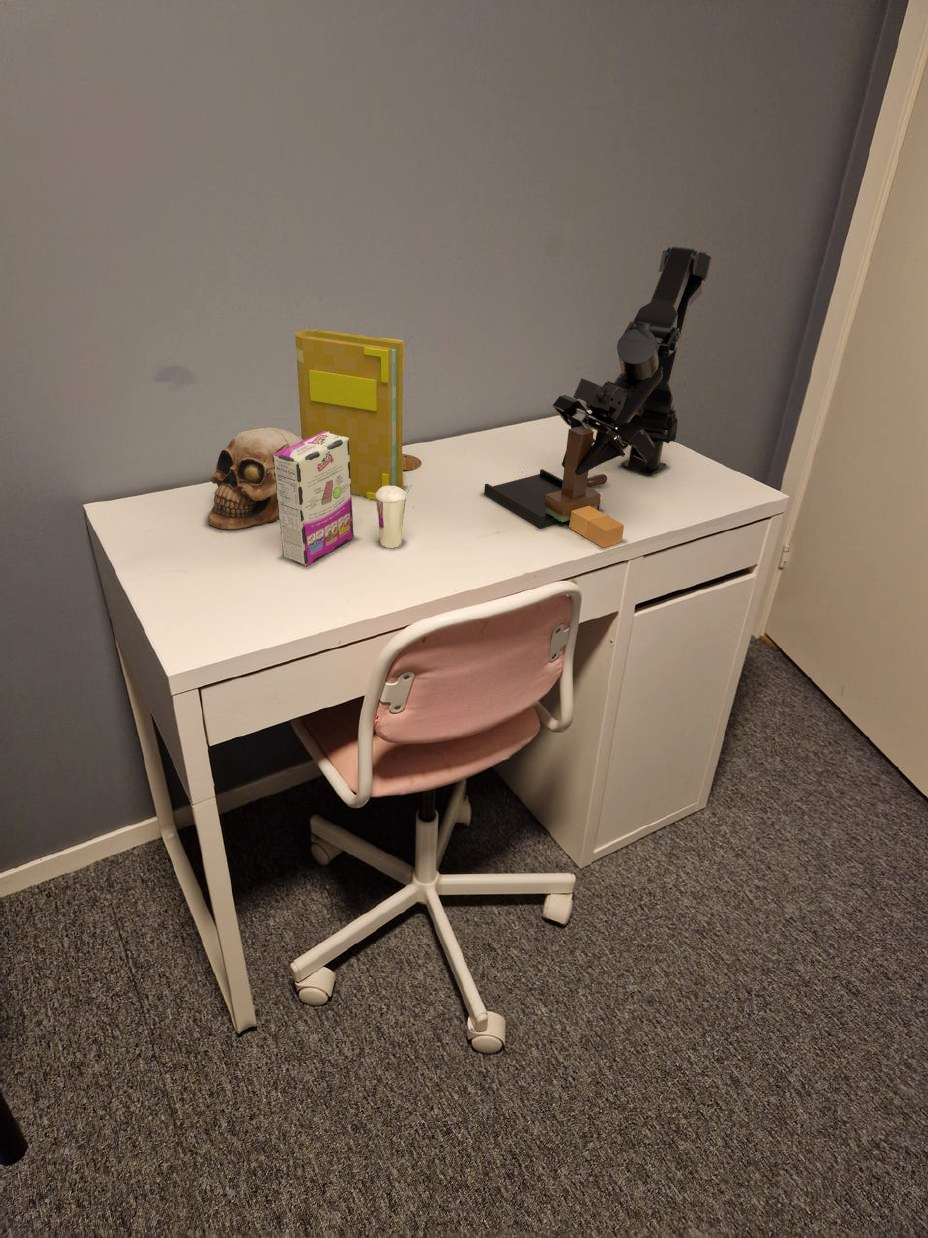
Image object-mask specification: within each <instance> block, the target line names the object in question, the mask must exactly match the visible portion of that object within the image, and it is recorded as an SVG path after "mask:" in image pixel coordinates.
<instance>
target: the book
mask: <svg viewBox="0 0 928 1238" xmlns="http://www.w3.org/2000/svg"><path fill="white" fill-rule="evenodd" d="M295 351H296V368H297V371H296V372H297V385H298V386H297V387H298V400H299V401H298V402H299V416H300V417H299V418H300V433H301V435H300V437H301V438H302V439H303V440H306V439H308V438H310V437H312V436H315V435H317V434H319V433H321V432H323V431H327V432H331V433H334V434H337V435H340V436H344V437H347V438H349V456H350V476H351V495H355V496H360V497H366V499H369V500H374V501H376V496H375V495H376V492H377V491H378V490H379V489H380V488H381V487H383V486H397V487H399V488H401V489H403V488H404V460H403V421H404V419H403V417H404V416H403V414H404V413H403V407H404V405H403V402H404V401H403V399H404V397H403V396H404V393H403V392H404V391H403V390H404V383H403V382H404V372H405V340H402V339H395V338H388V337H374V336H369V335H368V336H367V335H361V334H353V333H347V332H340V331H332V330H325V329H316V328H314V329H313V328H312V329H303V330H298V331H296V332H295Z"/></svg>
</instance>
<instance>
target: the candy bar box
mask: <svg viewBox="0 0 928 1238" xmlns="http://www.w3.org/2000/svg"><path fill="white" fill-rule="evenodd" d="M273 460H274V469H275V479H276V489H277V499H278V508H279V518H278V519H279V528H280V536H281V537H280V538H281V547H282V548H281V549H282V556H283V558H284V559H286V560H289V561H291V562H295V563H297V564H300V565H302V566H305V567H307V566H310V565H311V564H314V563H315V562H316V561H318V560H321V558H323V557H325V556H326V555H328V554H330V553H332V552H333V551H334V550H336V549H338V548H340V547H341V546H343V545H345V544H346V543H348V542H349V541H351V540H352V539H354V537H355V536H354V521H353V520H354V518H353V501H352V494H351V476H350V456H349V438H347V437H344V436H340V435H337V434H334V433H331V432H327V431H323V432H321V433H319V434H317V435H315V436H312V437H310V438H308V439H306V440H303V441H301V442H299V443H297V444H295V445H292V446H290V447H288V448H286V449H284V450H281V451H279V452H277V453H275V454H273Z"/></svg>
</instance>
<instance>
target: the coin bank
mask: <svg viewBox="0 0 928 1238" xmlns="http://www.w3.org/2000/svg"><path fill="white" fill-rule="evenodd" d="M301 441H303V439H302V436H299V435H298V434H296V433H293V432H292V431H289V430H286V429H283V428H278V427H259V428H254V429H249V430H244V431H240V432H238V433H236V434H235V435H234V436H233V437H232V439H231V440H230V442H229V444H228V445H227V446H226V447H225V448H222V450H221V451H220V452H219V455H218V458H217V462H216V465H215V472H214V473H213V475H212V476H211V477H210V481H211V483H212V484H213V485H216V486H217V488H216V489H215V491H214V498H213V502H214V503H213V506H212V508H211V510H210V513H209V514H208V516H207V524H208V525H209V526H213V527H214V528H216V529H222V530H223V529H226V530H240V529H245V528H251V527H252V526H256V525H257V526H258V525H262V524H265V523H272V522H276V521H277V520H279V519H280V518H279V508H278V499H277V489H276V479H275V469H274V460H273V454H275V453H277V452H279V451H281V450H284V449H286V448H288V447H290V446H292V445H295V444H297V443H299V442H301Z"/></svg>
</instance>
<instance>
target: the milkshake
mask: <svg viewBox="0 0 928 1238" xmlns="http://www.w3.org/2000/svg"><path fill="white" fill-rule="evenodd" d="M411 487H412V485H410V487H409V489H408V490H407V492H406V491H405V490H404V489H403V488H402V489H401V488H399V487H397V486H383V487H381V488H380V489H379V490H378V491H377V492H376V495H375V496H376V500H375V504H376V511H377V518H378V519H377V520H378V528H379V541H380V546H382V547H384V548H388V549H395V548H398V547H400V546H401V545H402V542H403V529H404V520H405V519H404V518H405V511H406V502H407V496H408V493H409V491H410V489H411Z"/></svg>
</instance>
